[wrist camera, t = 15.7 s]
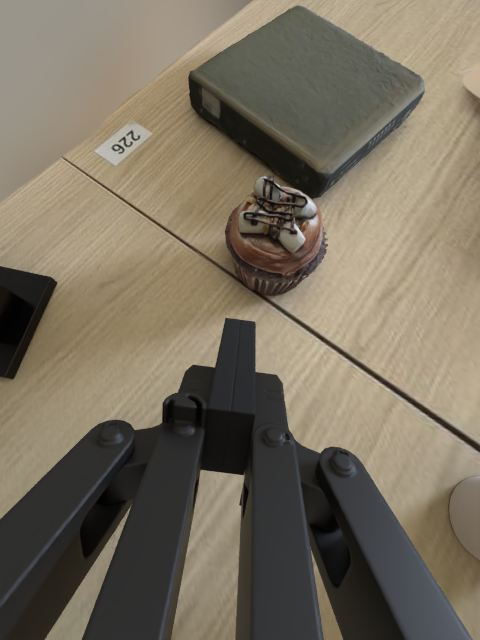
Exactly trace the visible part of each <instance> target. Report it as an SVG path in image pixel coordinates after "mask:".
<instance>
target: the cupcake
mask: <svg viewBox="0 0 480 640" xmlns="http://www.w3.org/2000/svg"><path fill="white" fill-rule="evenodd" d="M273 179H274V177H273V175H271V176H269V177H264V176H263V177H260V178H259V179H258V180H257V181H256V183H255V186H254V192H252V193H251V194H250V195H248V196H247V197H246V199H245V200H244V201H243V202H242V203H241V204H240V205H239V206H238V207H237V208H235V209H234V210H233V212H232V213H231V215H230V217H229V220H228V223H227V226H226V230H225V235H226V245H227V248H228V250H229V252H230V255H231V258H232V261H233V264H234V267H235V271H236V273H237V275H238V277H239V278H240V279H241V282H243V283H244V284H245V285H246V286H247V287H248V288H249V289H251V290H254V291H258V292H259V293H261V294H264V295H269V296H271V295H277V294H284V293H286V292H287V291H289V290H291V289H293V288H294V287H296V286H297V285H298V284H299V283H300V282H301V281H302V280H303V279H304V278H306V277H308V276H309V275H310V274H311V273H312V272H314V271H316V269H317V267H318V266H319V264H320V263H321V262H322V260H323V258H324V255H325V254H326V249H325V248H326V247H327V246H328V244H325V242H326V241H327V240H328V239H326V238H325V235H326V233H325V232H323V230H324V227H323V219H322V215H321V212H320V210H319V208H318V206H317V205H316V204H315V202H314V201H313V200H312V199H311V198H309V197H308V196H307V195H305V194H304V193H302V192H301V191H299V190H296V189H293V188H289V187H280V186H279V185H278V184H276V183H275V182H273Z"/></svg>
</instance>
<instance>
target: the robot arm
mask: <svg viewBox="0 0 480 640" xmlns="http://www.w3.org/2000/svg"><path fill="white" fill-rule="evenodd" d="M201 470H207V471H215V472H223V473H231V474H239V475H244V471H245V476H244V484H243V489H242V494H241V499H240V504H239V505H241V506H242V507H241V529H240V551H239V573H238V595H237V617H236V639H235V640H324V639H323V632H322V625H321V618H320V611H319V604H318V598H317V591H316V584H315V577H314V570H313V563H312V556H311V550H312V553H313V555H314V558H315V561H316V564H317V567H318V569H319V572H320V575H321V578H322V581H323V584H324V586H325V589H326V592H327V595H328V598H329V600H330V603H331V606H332V609H333V612H334V614H335V617H336V620H337V623H338V626H339V628H340V631H341V634H342V637H343V640H473V639H472V638H471V636H470V635H469V633H468V631H467V630H466V628H465V627H464V625H463V624H462V622H461V620H460V619H459V617H458V616H457V614H456V612H455V611H454V609H453V608H452V606H451V604H450V603H449V601H448V600H447V598H446V596H445V595H444V593H443V592H442V590H441V588H440V587H439V585H438V584H437V582H436V580H435V579H434V577H433V576H432V574H431V573H430V571H429V569H428V568H427V566H426V565H425V563H424V561H423V560H422V558H421V557H420V555H419V553H418V552H417V550H416V549H415V547H414V545H413V544H412V542H411V541H410V539H409V537H408V536H407V534H406V533H405V531H404V530H403V528H402V526H401V525H400V523H399V522H398V520H397V518H396V517H395V515H394V514H393V512H392V510H391V509H390V507H389V506H388V504H387V502H386V501H385V499H384V498H383V496H382V494H381V493H380V491H379V490H378V488H377V487H376V485H375V483H374V482H373V480H372V479H371V477H370V475H369V474H368V472H367V471H366V469H365V467H364V466H363V464H362V463H361V462H360V460H359V459H358V458H357V457H356V456H355V455H353V454H352V453H351V452H349V451H347V450H345V449H342V448H339V447H329V448H326V449H324V450H323V451H322V452H321V454H320V453H318V452H315V451H313V450H310V449H308V448H306V447H304V446H302V445H301V444H299V443H298V442H297V441H296V440H295V439H294V437H293V435H292V433H291V432H290V431H289V429H288V422H287V415H286V407H285V401H284V394H283V384H282V382H281V381H280V379H279V378H278V376H277V375H273V374H265V373H258V372H255V322H253V321H245V320H238V319H230V318H226V319H225V324H224V328H223V333H222V338H221V343H220V347H219V352H218V357H217V362H216V366H215V368H214V367H206V366H198V365H192V366H191V367H190V368H189V369H188V370H187V371H186V372H185V374H184V377H183V380H182V383H181V385H180V388H179V391H178V393H175V394H172V395H170V396H169V397H167V398H166V399H165V401H164V402H163V415H162V423H161V424H160V425H158V426H155V427H152V428H148V429H141V430H134V429H133V427H132V426H131V424H129V423H127V422H125V421H121V420H110V421H106V422H103V423H100V424H98V425H97V426H95V427H94V428H93V429H91V430H90V431H89V432H88V433H87V434H86V435H85V436H84V437H83V438H82V439H81V440H80V441H79V442H78V443H77V444H76V445H75V446H74V447H73V448H72V449H71V450H70V451H69V452H68V453H67V454H66V455H65V456H64V457H63V458H62V459H61V460H60V461H59V462H58V463H57V464H56V465H55V466H54V467H53V468H52V469H51V470H50V471H49V472H48V473H47V474H46V475H45V476H44V477H43V478H42V479H41V480H40V481H39V482H38V483H37V484H36V485H35V486H34V487H33V488H32V489H31V490H30V491H29V492H28V493H27V494H26V495H25V496H24V497H23V498H22V499H21V500H20V501H19V502H18V503H17V504H16V505H14V506H13V507H12V508H11V509H10V510H9V511H8V512H7V513H6V514H5V515H4V516H3V517H2V518H1V519H0V640H45V638H46V637H47V635H48V633H49V632H50V630H51V629H52V627H53V626H54V624H55V623H56V621H57V620H58V618H59V616H60V615H61V613H62V612H63V610H64V609H65V607H66V606H67V604H68V602H69V601H70V599H71V598H72V596H73V595H74V593H75V592H76V590H77V588H78V587H79V585H80V584H81V582H82V581H83V579H84V578H85V576H86V575H87V573H88V571H89V570H90V568H91V567H92V565H93V564H94V562H95V561H96V559H97V557H98V556H99V554H100V553H101V551H102V550H103V548H104V547H105V545H106V544H107V542H108V540H109V539H110V537H111V536H112V534H113V533H114V531H115V530H116V528H117V526H118V525H119V523H120V522H121V520H122V519H123V517H124V516H125V514H126V512H127V511H128V509H129V508H130V506H131V505H132V506H131V509H130V512H129V514H128V517H127V520H126V523H125V525H124V528H123V531H122V533H121V536H120V539H119V541H118V544H117V547H116V549H115V552H114V555H113V557H112V560H111V563H110V565H109V568H108V571H107V574H106V576H105V579H104V582H103V584H102V587H101V590H100V592H99V595H98V598H97V600H96V603H95V606H94V608H93V611H92V614H91V616H90V619H89V622H88V625H87V627H86V630H85V633H84V635H83V638H82V640H171V635H172V630H173V624H174V619H175V613H176V608H177V602H178V596H179V591H180V585H181V580H182V574H183V569H184V563H185V558H186V552H187V547H188V541H189V536H190V530H191V525H192V519H193V514H194V508H195V503H196V497H197V492H198V486H199V477H200V471H201ZM132 503H133V504H132ZM310 547H311V549H310Z"/></svg>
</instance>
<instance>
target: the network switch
mask: <svg viewBox="0 0 480 640" xmlns="http://www.w3.org/2000/svg"><path fill="white" fill-rule="evenodd" d="M188 79H189V89H190V93H189V96H190V100H191V105H192V107H193V109H194V110H195V111H196V112H197V113H198V114H199V115H200V116H202V117H203V118H205V119H206V120H208V121H210V122H212V123H213V124H215V125H216V126H218V127H219V128H220V129H222V130H223V131H225V132H226V133H227V134H228V135H230V136H231V137H232V138H234V139H235V140H236V141H238V142H239V143H240V144H242V145H243V146H244V147H246V148H247V149H248V150H250V151H251V152H253V153H254V154H255V155H257V156H258V157H259V158H261V159H262V160H263V161H265V162H266V163H267V164H268V165H270V167H271V169H272V170H274V171H275V172H276V173H277V174H278V175H280V176H282V177H283V178H284V179H286V180H287V181H289V182H290V183H292V184H293V185H294V186H295V187H296V188H297V189H299V190H300V191H301V192H303V193H304V194H305V195H307V196H308V197H309V198H311V199H313V198H316V197H321V195H322V194H323V193H324V192H326V191H327V190H328V189H329V188H330V187H332V186H333V185H334V184H335V183H336V182H337V181H338V180H339V179H340V178H341V177H342V176H343V175H344V174H345V173H346V172H348V171H349V170H350V169H351V168H352V167H353V166H355V165H356V164H357V163H358V162H359V161H360V160H361V159H362V158H364V157H365V156H366V155H367V154H368V153H369V152H370V151H371V150H372V149H373V148H375V147H376V146H377V145H378V144H379V143H380V142H381V141H382V140H383V139H384V138H386V137H387V136H388V135H389V134H390V133H391V132H392V131H394V130H395V129H396V128H398V127H399V126H400V125H401V124H402V122H403V121H404V120H405V119H406V118H407V117H408V116H409V115H410V114H411V112H412V111H413V110H414V109H415V108H416V106H417V104H418V103H419V101H420V100H421V98H422V96H423V94H424V91H425V86H424V81H423V79H422V78H421V77H420V75H417V74H415V73H414V72H412V71H411V70H409V69H408V68H406V67H404V66H403V65H401V64H400V63H398V62H395V61H393V60H391V59H390V58H389V57H388V56H386V55H384V54H383V53H380V52H378V51H377V50H375V49H374V48H372V47H371V46H369V45H367V44H365V43H364V42H363V41H360V40H359V39H357V38H356V37H354V36H353V35H351V34H349V33H348V32H346V31H344V30H343V29H341V28H339V27H337V26H335V25H334V24H332V23H331V22H329V21H327V20H326V19H324V18H322V17H320V16H318V15H317V14H315V13H314V12H312V11H310V10H308V9H306V8H305V7H302V6H295V7H293V8H292V9H289V10H287V11H286V12H285V13H283V14H281V15H280V16H278V17H276V18H275V19H274V20H272V21H271V22H269V23H268V24H266V25H264V26H262V27H261V28H259V29H258V30H256V31H254V32H253V33H251V34H249V35H247V36H246V37H245V38H243V39H242V40H240V41H239V42H237V43H235V44H233V45H231V46H230V47H228V48H227V49H225V50H224V51H222V52H220V53H219V54H217V55H216V56H214V57H213V58H211V59H210V60H208V61H207V62H206V63H204V64H203V65H201V66H200V67H198V68H197V69H196V70H194V71H190V74H189V77H188Z"/></svg>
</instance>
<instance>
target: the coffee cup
mask: <svg viewBox="0 0 480 640" xmlns="http://www.w3.org/2000/svg"><path fill="white" fill-rule="evenodd" d="M449 515H450V521H451V525H452V528H453V530H454V533H455V535H456V537H457V538H458V540H459V541H460V543H461V544H462V546H463V547H464V548H465V549H466V550H467V551H468V552H469V553H470V554H472V555H473V556H474V557H476V558H477V559H479V560H480V477H470V478H467V479H465V480H463V481H461V482H460V483H459V484H458V485H457V486H456V488H455V489H454V491H453V493H452V495H451V498H450V504H449Z"/></svg>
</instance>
